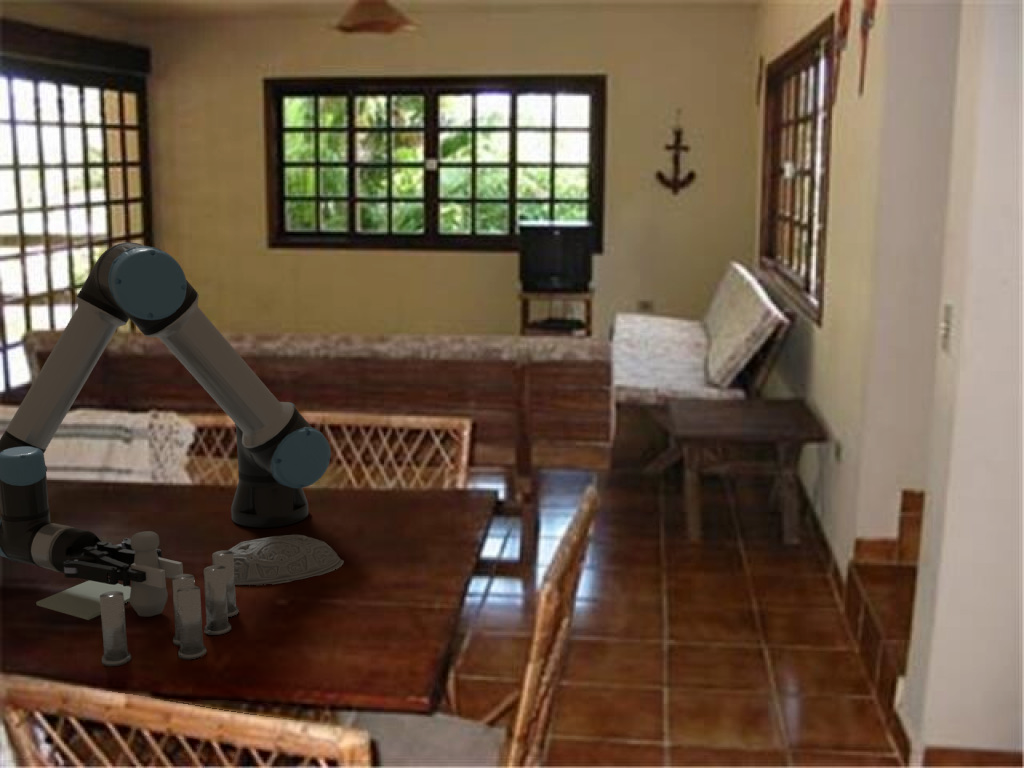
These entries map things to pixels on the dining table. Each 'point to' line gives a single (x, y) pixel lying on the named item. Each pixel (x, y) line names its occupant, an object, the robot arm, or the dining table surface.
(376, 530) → the dining table surface
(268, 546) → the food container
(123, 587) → the coaster
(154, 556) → the salt shaker
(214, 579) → the spacers
